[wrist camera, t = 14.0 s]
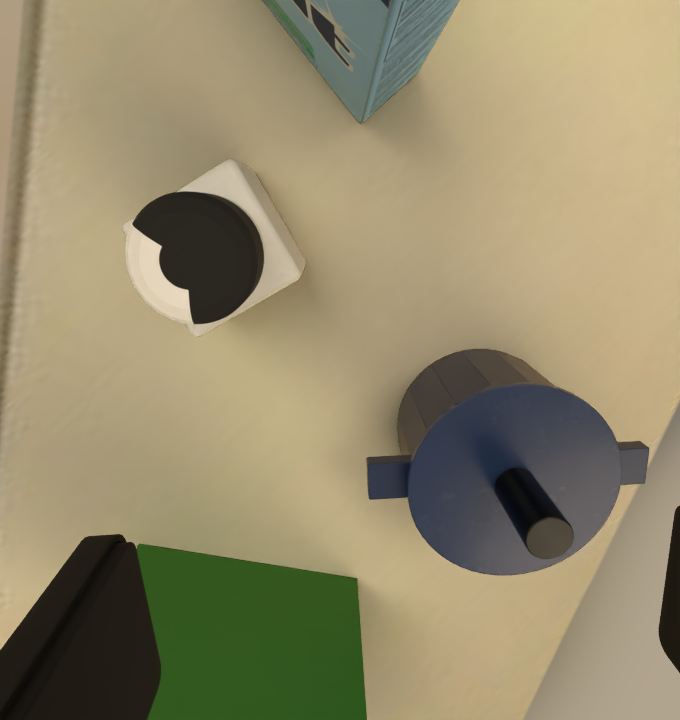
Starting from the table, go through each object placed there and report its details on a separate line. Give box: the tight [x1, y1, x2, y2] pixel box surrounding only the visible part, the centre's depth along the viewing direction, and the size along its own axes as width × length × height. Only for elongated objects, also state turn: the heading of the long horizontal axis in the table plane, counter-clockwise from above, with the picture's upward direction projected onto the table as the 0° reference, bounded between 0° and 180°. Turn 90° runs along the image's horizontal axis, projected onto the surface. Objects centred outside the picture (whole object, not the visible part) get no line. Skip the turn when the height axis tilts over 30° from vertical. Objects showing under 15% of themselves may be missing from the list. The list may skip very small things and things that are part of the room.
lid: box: [407, 382, 622, 575], centre depth 28 cm, size 12×12×6 cm
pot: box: [366, 349, 649, 500], centre depth 34 cm, size 11×17×8 cm
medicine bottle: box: [122, 159, 306, 337], centre depth 29 cm, size 7×7×12 cm
